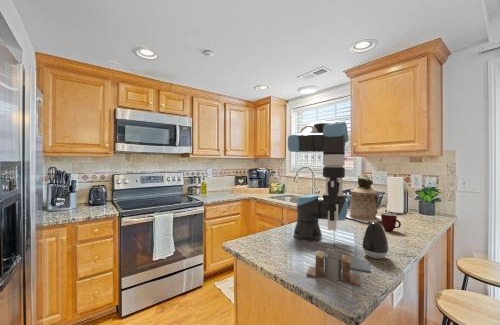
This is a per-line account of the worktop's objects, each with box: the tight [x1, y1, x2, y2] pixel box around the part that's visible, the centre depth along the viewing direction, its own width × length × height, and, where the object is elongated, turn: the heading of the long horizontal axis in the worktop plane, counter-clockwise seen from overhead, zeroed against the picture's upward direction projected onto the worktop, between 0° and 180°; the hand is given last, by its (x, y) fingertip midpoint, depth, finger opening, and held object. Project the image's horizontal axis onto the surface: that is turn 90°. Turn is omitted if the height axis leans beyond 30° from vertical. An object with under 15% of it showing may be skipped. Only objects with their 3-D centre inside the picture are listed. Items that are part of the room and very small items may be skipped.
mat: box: [339, 255, 372, 273], centre depth 95 cm, size 12×10×1 cm
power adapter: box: [324, 242, 342, 281], centre depth 85 cm, size 3×5×12 cm, turn 40°
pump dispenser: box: [361, 221, 389, 260], centre depth 104 cm, size 10×10×15 cm
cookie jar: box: [346, 175, 382, 225], centre depth 175 cm, size 25×25×32 cm
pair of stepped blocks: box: [306, 250, 361, 287], centre depth 85 cm, size 18×7×8 cm, turn 67°
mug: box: [380, 212, 402, 232], centre depth 143 cm, size 11×8×10 cm
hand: (333, 225), depth 85 cm, fingers open, 13 cm apart
